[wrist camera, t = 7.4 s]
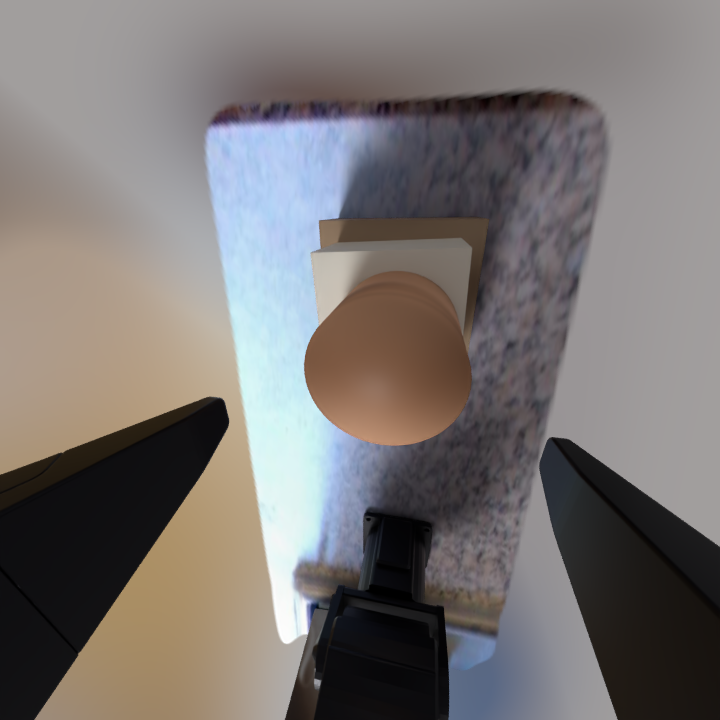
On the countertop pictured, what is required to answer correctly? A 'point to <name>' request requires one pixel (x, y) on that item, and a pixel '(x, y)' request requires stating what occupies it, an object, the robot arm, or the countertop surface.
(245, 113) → the countertop surface
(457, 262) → the tower top block
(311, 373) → the brown short cylinder
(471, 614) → the countertop surface
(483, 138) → the countertop surface
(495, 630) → the countertop surface
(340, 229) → the tower base
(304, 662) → the coffee box
